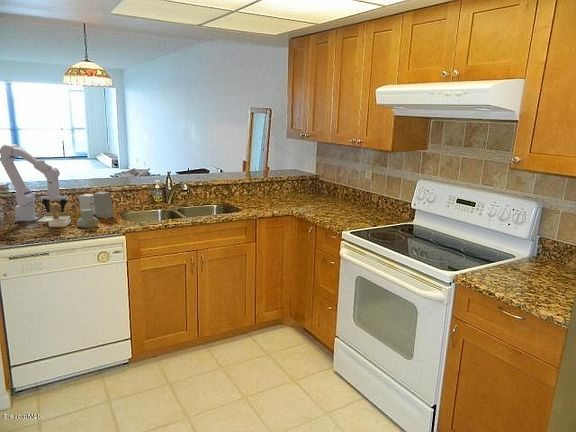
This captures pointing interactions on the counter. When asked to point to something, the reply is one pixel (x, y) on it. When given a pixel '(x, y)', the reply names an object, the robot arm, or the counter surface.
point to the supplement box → (87, 202)
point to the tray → (49, 218)
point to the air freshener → (87, 219)
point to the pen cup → (59, 222)
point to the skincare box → (103, 204)
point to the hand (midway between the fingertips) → (55, 212)
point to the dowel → (55, 211)
